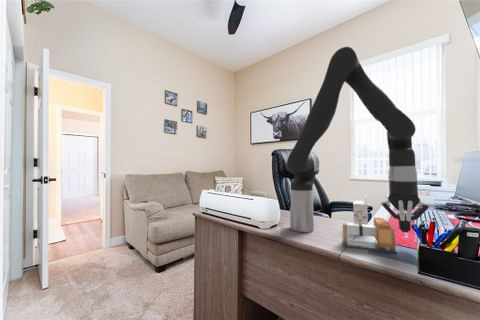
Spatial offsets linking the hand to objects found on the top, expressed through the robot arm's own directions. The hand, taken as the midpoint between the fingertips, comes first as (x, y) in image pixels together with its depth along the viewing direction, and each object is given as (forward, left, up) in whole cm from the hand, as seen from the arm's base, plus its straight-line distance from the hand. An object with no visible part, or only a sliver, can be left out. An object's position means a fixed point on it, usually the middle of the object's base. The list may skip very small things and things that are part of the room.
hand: (404, 231), depth 70 cm
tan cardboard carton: (-7, -4, -3) cm, 8 cm away
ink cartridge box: (-11, +16, -5) cm, 21 cm away
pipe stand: (-11, -4, -5) cm, 13 cm away
